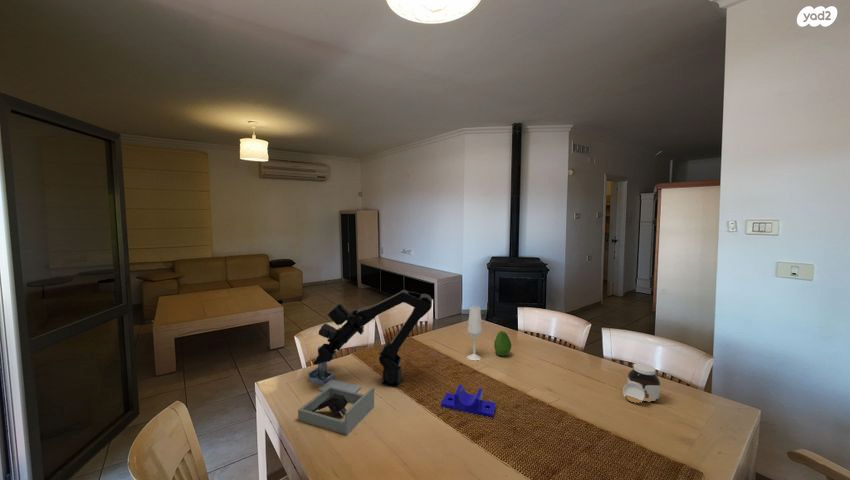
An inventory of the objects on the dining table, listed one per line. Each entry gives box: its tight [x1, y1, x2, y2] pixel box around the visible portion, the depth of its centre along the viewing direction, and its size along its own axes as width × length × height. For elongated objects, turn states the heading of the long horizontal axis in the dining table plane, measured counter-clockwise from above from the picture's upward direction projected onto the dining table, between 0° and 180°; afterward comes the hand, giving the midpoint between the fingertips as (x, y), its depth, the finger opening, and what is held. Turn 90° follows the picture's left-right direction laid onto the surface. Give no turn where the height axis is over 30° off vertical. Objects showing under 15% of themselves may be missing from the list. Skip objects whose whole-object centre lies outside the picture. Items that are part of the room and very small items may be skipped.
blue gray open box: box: [307, 366, 336, 386], centre depth 133 cm, size 8×7×4 cm
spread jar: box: [622, 362, 661, 403], centre depth 121 cm, size 12×11×12 cm
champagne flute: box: [466, 305, 483, 362], centre depth 154 cm, size 7×7×24 cm
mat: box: [317, 379, 362, 393], centre depth 125 cm, size 14×8×1 cm, turn 69°
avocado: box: [493, 330, 512, 357], centre depth 157 cm, size 8×8×12 cm
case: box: [297, 386, 375, 436], centre depth 110 cm, size 19×16×7 cm
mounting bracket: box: [440, 383, 497, 418], centre depth 115 cm, size 18×7×6 cm, turn 70°
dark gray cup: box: [317, 346, 328, 380], centre depth 132 cm, size 4×4×12 cm
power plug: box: [312, 394, 349, 418], centre depth 110 cm, size 6×8×12 cm
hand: (318, 358), depth 132 cm, fingers open, 9 cm apart
